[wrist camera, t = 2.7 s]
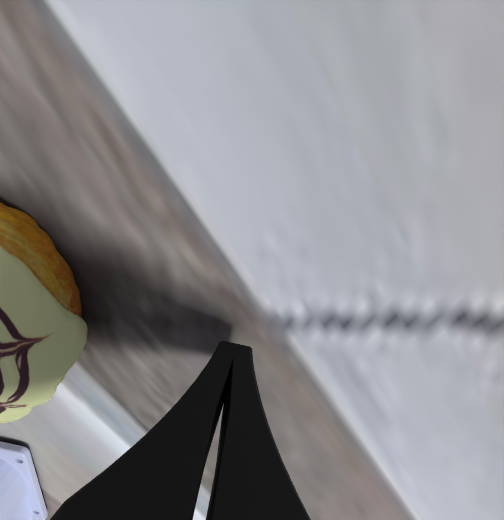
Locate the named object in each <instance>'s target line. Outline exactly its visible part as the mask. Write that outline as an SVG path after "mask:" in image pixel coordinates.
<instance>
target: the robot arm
mask: <svg viewBox="0 0 504 520" xmlns="http://www.w3.org/2000/svg"><path fill="white" fill-rule="evenodd" d="M223 403H224V405H223ZM222 406H223V413H222V421H221V429H220V438H219V446H218V454H217V462H216V469H215V475H214V481H213V486H212V491H211V496H210V501H209V506H208V512H207V517H206V520H310V518H309V516H308V514H307V512H306V510H305V508H304V506H303V504H302V502H301V500H300V498H299V496H298V494H297V492H296V490H295V487H294V485H293V483H292V481H291V479H290V477H289V474H288V472H287V470H286V468H285V466H284V463H283V461H282V459H281V456H280V454H279V451H278V449H277V446H276V444H275V441H274V438H273V436H272V433H271V430H270V427H269V425H268V421H267V418H266V415H265V412H264V409H263V405H262V402H261V398H260V394H259V390H258V386H257V381H256V377H255V371H254V365H253V355H252V348H251V347H249V346H244V345H240V344H235V343H230V342H226V341H221V342H219V344H218V347H217V349H216V351H215V352H214V354H213V356H212V357H211V359H210V361H209V362H208V364H207V365H206V367H205V368H204V369H203V371H202V372H201V373H200V375H199V376H198V378H197V379H196V380H195V382H194V383H193V384H192V385H191V386H190V388H189V389H188V390H187V391H186V393H185V394H184V395H183V396H182V397H181V399H180V400H179V401H178V402H177V403H176V404H175V405H174V406H173V407H172V409H171V410H170V411H169V412H168V413H167V414H166V415H165V416H164V417H163V418H162V419H161V420H160V421H159V422H158V423H157V424H156V425H155V426H154V427H153V428H152V429H151V430H150V431H149V432H148V433H147V434H146V435H145V436H144V437H143V438H141V439H140V440H139V441H138V442H137V443H136V444H135V445H134V446H133V447H131V448H130V449H129V450H128V451H127V452H126V453H124V454H123V455H122V456H121V457H120V458H119V459H117V460H116V461H115V462H114V463H113V464H112V465H110V466H109V467H108V468H107V469H106V470H104V471H103V472H102V473H101V474H99V475H98V476H97V477H95V478H94V479H93V480H92V481H90V482H89V483H88V484H86V485H85V486H84V487H82V488H81V489H80V490H79V491H77V492H76V493H75V494H73V495H72V496H71V497H70V498H68V499H67V500H66V501H65V502H64V503H63V504H62V505H61V507H60V508H59V509H58V510H57V512H56V513H55V514H54V515H53V517H52V518H51V519H50V520H192V519H193V515H194V510H195V506H196V501H197V497H198V492H199V488H200V484H201V479H202V475H203V471H204V467H205V463H206V460H207V456H208V453H209V450H210V446H211V443H212V440H213V436H214V433H215V430H216V426H217V423H218V420H219V416H220V413H221V410H222ZM47 516H48V513H47V509H46V506H45V502H44V499H43V495H42V492H41V489H40V485H39V482H38V478H37V475H36V471H35V468H34V464H33V461H32V458H31V454H30V451H29V450H28V449H27V448H26V447H23V446H19V445H15V444H10V443H6V442H1V441H0V520H45V519H46V517H47Z"/></svg>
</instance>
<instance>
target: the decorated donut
mask: <svg viewBox="0 0 504 520" xmlns="http://www.w3.org/2000/svg"><path fill="white" fill-rule="evenodd" d="M86 341H87V325H86V323H85V321H84V320H83V319H82V315H81V302H80V294H79V289H78V287H77V286H76V284H75V280H74V276H73V273H72V271H71V268H70V267H69V265H68V264H67V263H66V261H65V260H64V259H63V257H62V256H61V255H60V254H59V252H58V251H57V250H56V247H55V245H54V244H53V242H52V240H51V239H50V237H49V235H48V234H47V233H46V232H45V231H44V230H43V229H41V228H39V227H38V225H37V223H36V222H35V220H34V219H32V218H31V217H30V216H29V215H28V214H26V213H24V212H22V211H20V210H17V209H14V208H11V207H7V206H5V205H4V204H3V203H1V202H0V423H6V422H12V421H16V420H18V419H20V418H22V417H24V416H25V415H27V414H29V413H30V411H31V410H32V408H33V407H34V406H37V405H40V404H43V403H45V402H47V401H49V400H50V399H51V398H52V396H53V395H54V393H55V391H56V388H57V386H58V385H59V383H60V382H61V381H62V380H63V378H64V377H65V374H66V373H67V372H68V370H69V369H70V368H71V367H72V366H73V364H74V363H75V362H76V361H77V360H78V358H79V357H80V355H81V352H82V350H83V348H84V346H85V345H86Z"/></svg>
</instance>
